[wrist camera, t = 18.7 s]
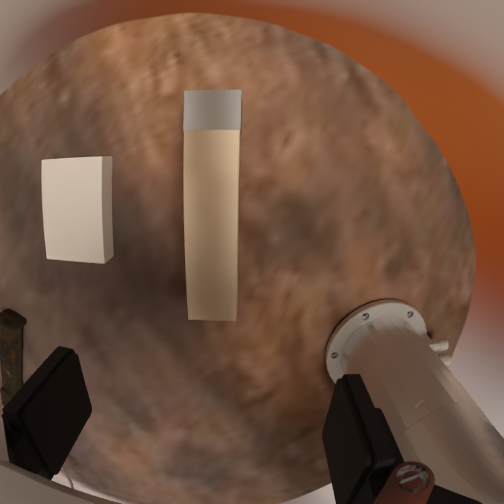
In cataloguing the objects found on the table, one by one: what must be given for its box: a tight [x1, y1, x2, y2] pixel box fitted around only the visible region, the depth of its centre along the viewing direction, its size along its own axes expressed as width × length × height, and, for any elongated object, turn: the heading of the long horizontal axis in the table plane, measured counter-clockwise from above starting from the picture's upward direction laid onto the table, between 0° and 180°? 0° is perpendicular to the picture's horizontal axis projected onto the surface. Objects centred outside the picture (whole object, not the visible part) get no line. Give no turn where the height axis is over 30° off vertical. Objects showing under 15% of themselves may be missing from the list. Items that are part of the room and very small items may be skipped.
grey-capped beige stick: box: [183, 90, 242, 321], centre depth 26 cm, size 4×18×6 cm, turn 178°
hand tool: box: [0, 310, 26, 407], centre depth 33 cm, size 19×4×5 cm, turn 154°
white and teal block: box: [42, 156, 114, 264], centre depth 28 cm, size 7×3×10 cm
